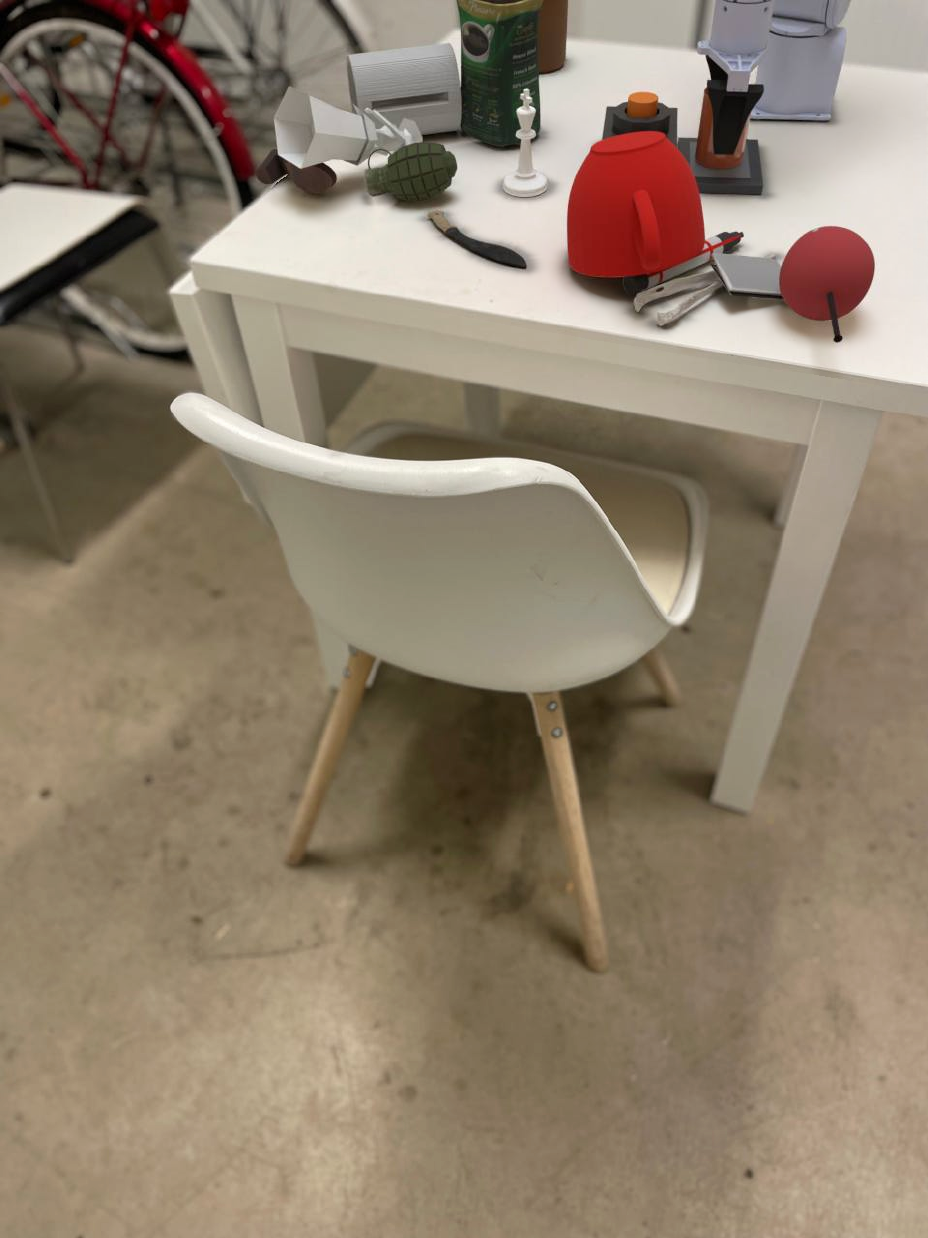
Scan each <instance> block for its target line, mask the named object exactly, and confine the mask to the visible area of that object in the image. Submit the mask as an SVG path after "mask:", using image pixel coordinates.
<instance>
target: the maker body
mask: <svg viewBox="0 0 928 1238" xmlns="http://www.w3.org/2000/svg"><path fill="white" fill-rule="evenodd" d="M627 107H628V101H623V102H621V103H619V104H618V105H615V106H613V105H611V106H610V105H607V106H606V108H605V115H604V123H603V128H602V129H603V130H602V137H601V140H603V139H606V138H610V137H613V136H617V135H621V134H627V133H633V132H642V131H656V132H662V133H664V134H665V136H666V138H667V139H668V140H669V141H671V142H672V143H673V144H674V145H675V147H676V148H677V144H678V107H669V106H667V105H666V104H665V103H663V102H659V101H658V107H657V115H656V116H654V117H649V118H636V117H632V116H628V115H627Z"/></svg>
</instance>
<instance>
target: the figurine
mask: <svg viewBox="0 0 928 1238" xmlns="http://www.w3.org/2000/svg"><path fill="white" fill-rule="evenodd" d="M353 105H354V104H353ZM354 107H355V109H356V112H357V114H358V115H356V114H353V113H352V112H349V111H345V110H342V109H340V108H337V107H335V106H333V105H331V104H329V103H327V102H325V101H323V100H320V99H319V98H316V97H314V96H312V95H310V94H308V93H306V92H304V91H301V90H299V89H297V88H295V87H292V86H290V85H289V86H288V87H287V89H286V91H285V93H284V96H283V98H282V100H281V101H280V104H279V106H278V108H277V110H276V112H275V115H274V116H273V121H274V122H273V123H274V132H275V140H276V149H278V155H280V156H281V157H283V158H284V159H286V160H288V161H289V162H291V163H292V164H294V165H295V166H297V167H299V168H300V169H302V168H305V167H308V166H312V165H315V164H319V163H322V162H323V163H325V162H329V161H333V160H335V161H343V162H346V163H349V164H351V165H354V166H357V167H358V166H359V165H361V164H362V163H364V162H365V161H367V160H368V158H369V156H370V154H371V153H372V152H373V151H375V150H377V149H385V150H387V151H389V152H395V151H398V149H400V148H402V147H404V146H408V145H409V144H413V143H419V142H423V140H424V139H423V137H424V136H423V135H421V132H420V131H419V129H418V127H417V125H416V123H415V121H412V120H409V119H406V118H404V119H403V121H402V123H401V125H400V127H399V129H398V128H397V127H396V125H395V124H393V125H392V124H391V123H390V122H389V121H388V120H387V119H385V118H384V117H383V116H382V115H381V114H380V113H378V112H377V111H376V110H375V109H374V111H372V110H370V109H369V108H366V109H365V110H364V111H365V112H367V113H368V114H370V113H372V114H373V115H374V116H375V117H376V118H377V119H378V120H379V121H381V122H382V123H383V124H384V125H385V126H383V127H382V128H381V129H376V128H375V123H374V122H373V121H372V120H371V119H369V118H368V117H367V116H366V115H365V114H364V113H363V112H362V111H360V110H359V109H358V108H357V107H356V106H355V105H354ZM376 153H377V154H379V155H382V156H385V157H387V156H388V155H389V153H387V152H386V151H382V150H380V151H376V152H375V154H376Z"/></svg>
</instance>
